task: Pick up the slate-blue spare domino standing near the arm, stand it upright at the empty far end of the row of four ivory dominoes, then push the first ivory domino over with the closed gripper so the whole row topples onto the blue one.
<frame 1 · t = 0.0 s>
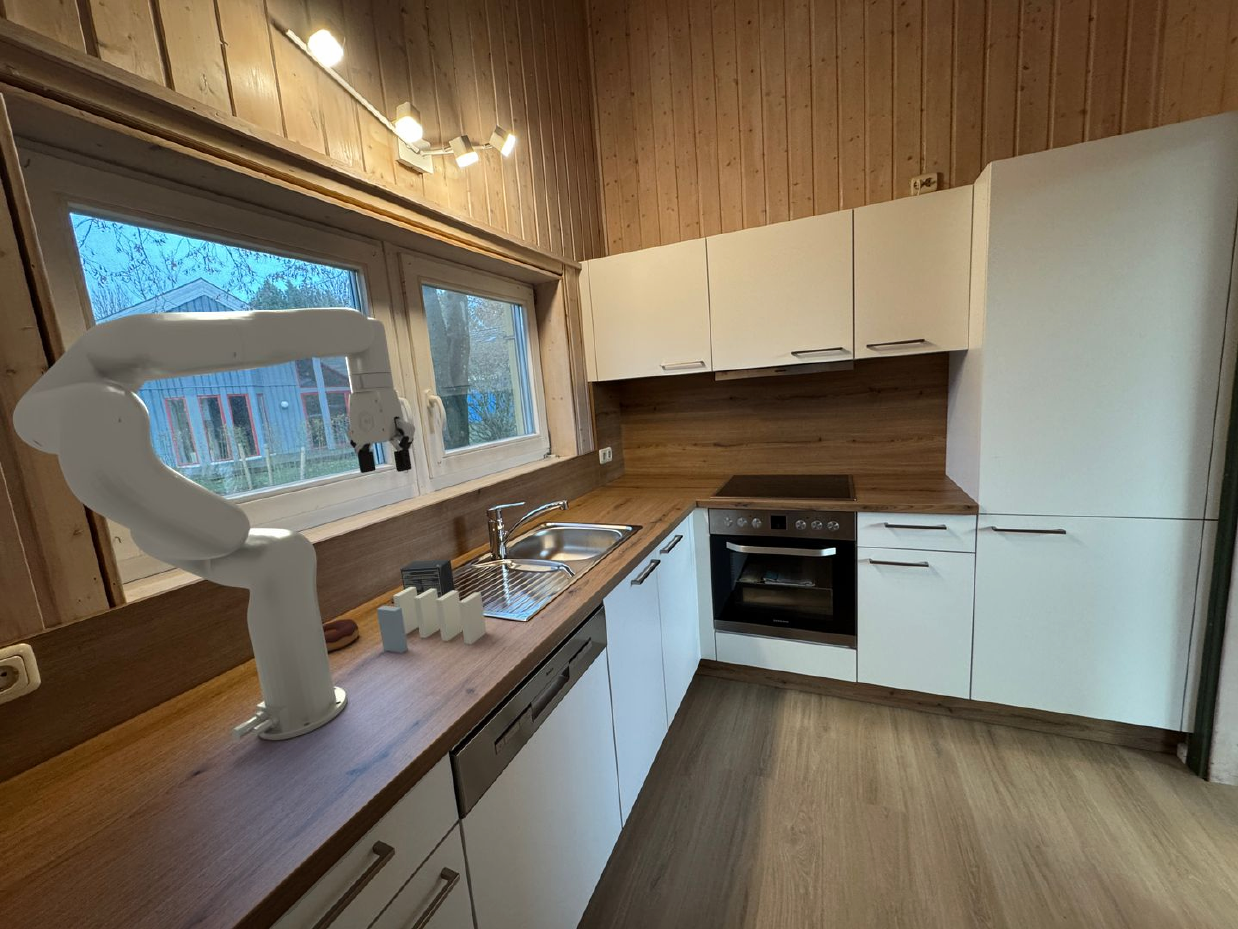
hand: (386, 471, 98), 37 cm above the countertop, tool pointing down, fingers open, 9 cm apart
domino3: (453, 635, 106), on the countertop
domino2: (431, 632, 108), on the countertop
donut: (334, 644, 107), on the countertop
spare domino: (395, 649, 102), on the countertop
small box: (432, 603, 125), on the countertop
domino4: (475, 638, 104), on the countertop
domino1: (410, 629, 111), on the countertop
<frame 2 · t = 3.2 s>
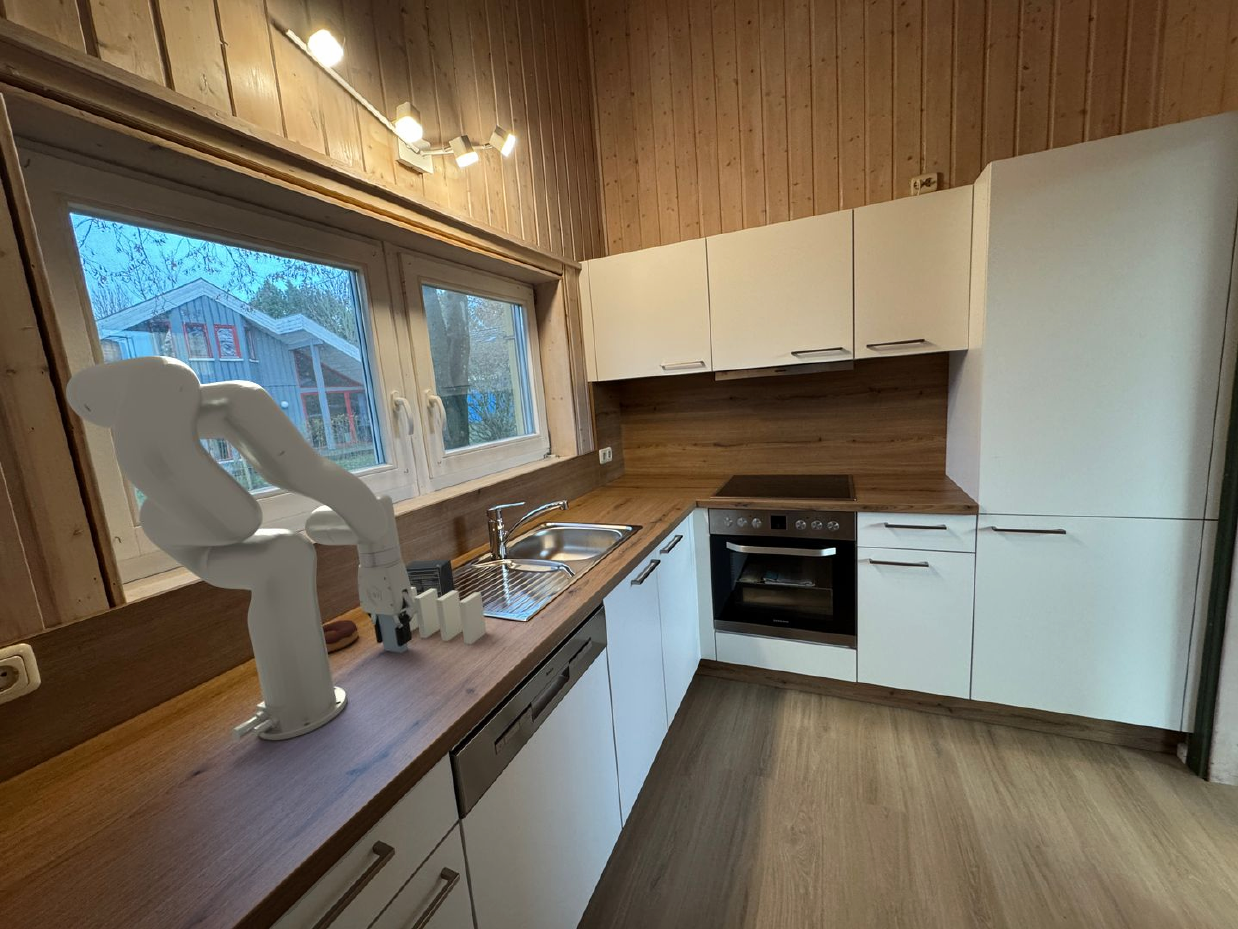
hand: (394, 640, 102), 2 cm above the countertop, tool pointing down, fingers closed on spare domino, 4 cm apart
spare domino: (395, 649, 102), on the countertop, touching gripper
when the fingers open (3 cm above the countertop, at t = 9.0 s): spare domino stays where it is, on the countertop.
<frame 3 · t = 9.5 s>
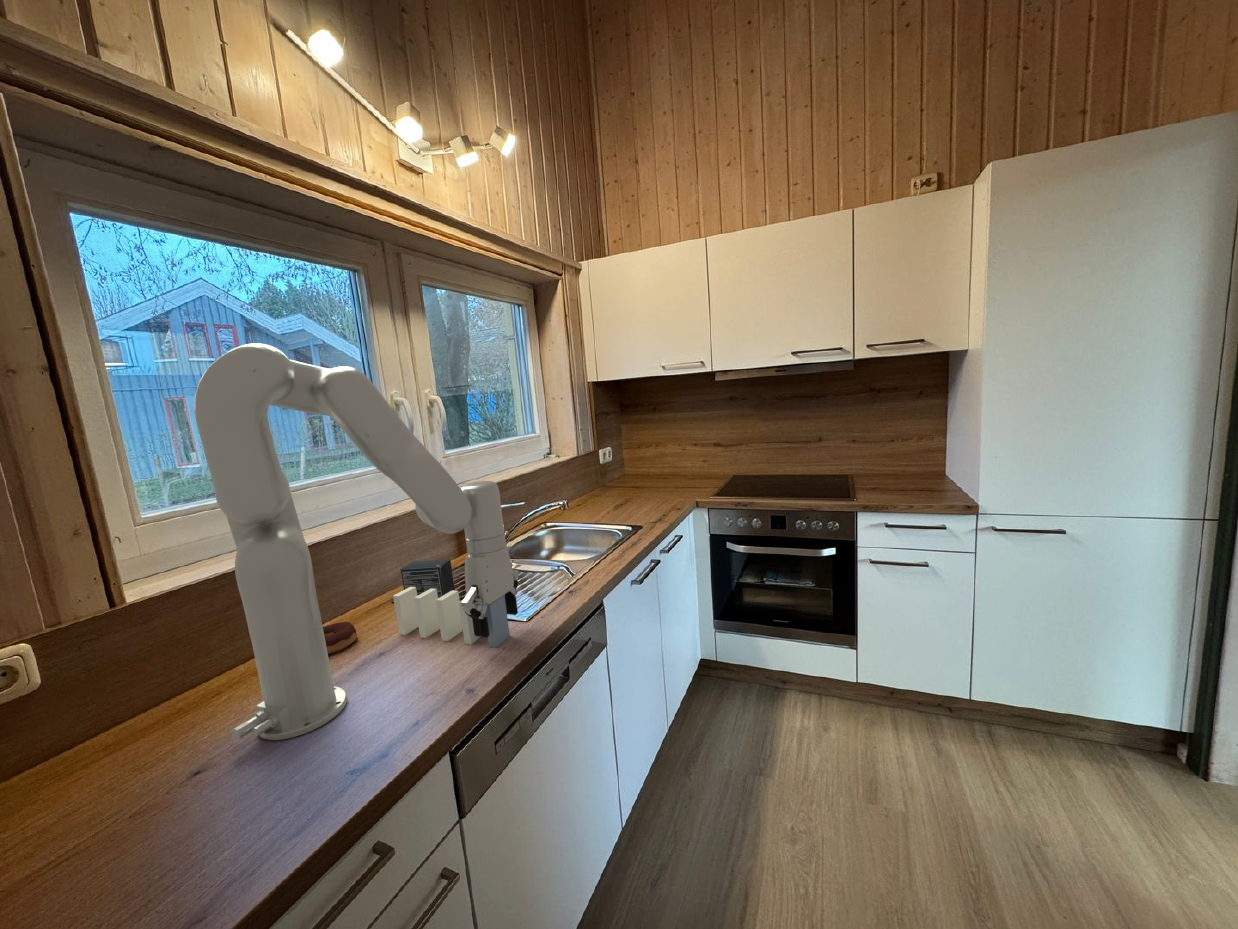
hand: (497, 624, 101), 4 cm above the countertop, tool pointing down, fingers open, 9 cm apart
spare domino: (499, 641, 101), on the countertop
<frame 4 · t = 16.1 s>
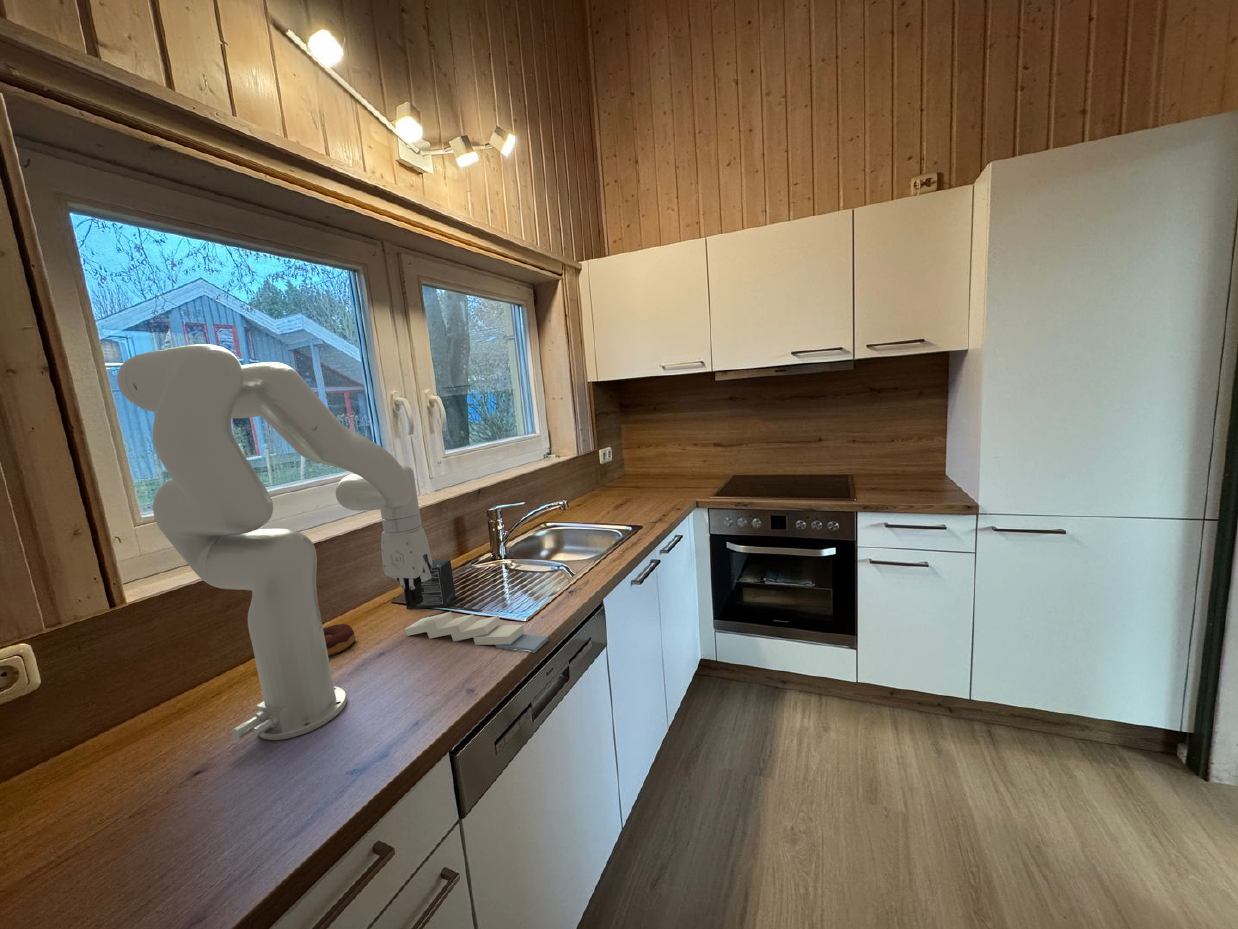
hand: (415, 604, 109), 6 cm above the countertop, tool pointing down, fingers closed
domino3: (460, 632, 105), point 1 cm above the countertop, tilted 74°, touching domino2
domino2: (436, 629, 108), point 1 cm above the countertop, tilted 75°, touching domino1, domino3
spare domino: (503, 641, 101), on the countertop, tilted 90°, touching domino4
domino4: (482, 635, 103), point 1 cm above the countertop, tilted 82°, touching spare domino
domino1: (414, 627, 110), point 1 cm above the countertop, tilted 75°, touching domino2
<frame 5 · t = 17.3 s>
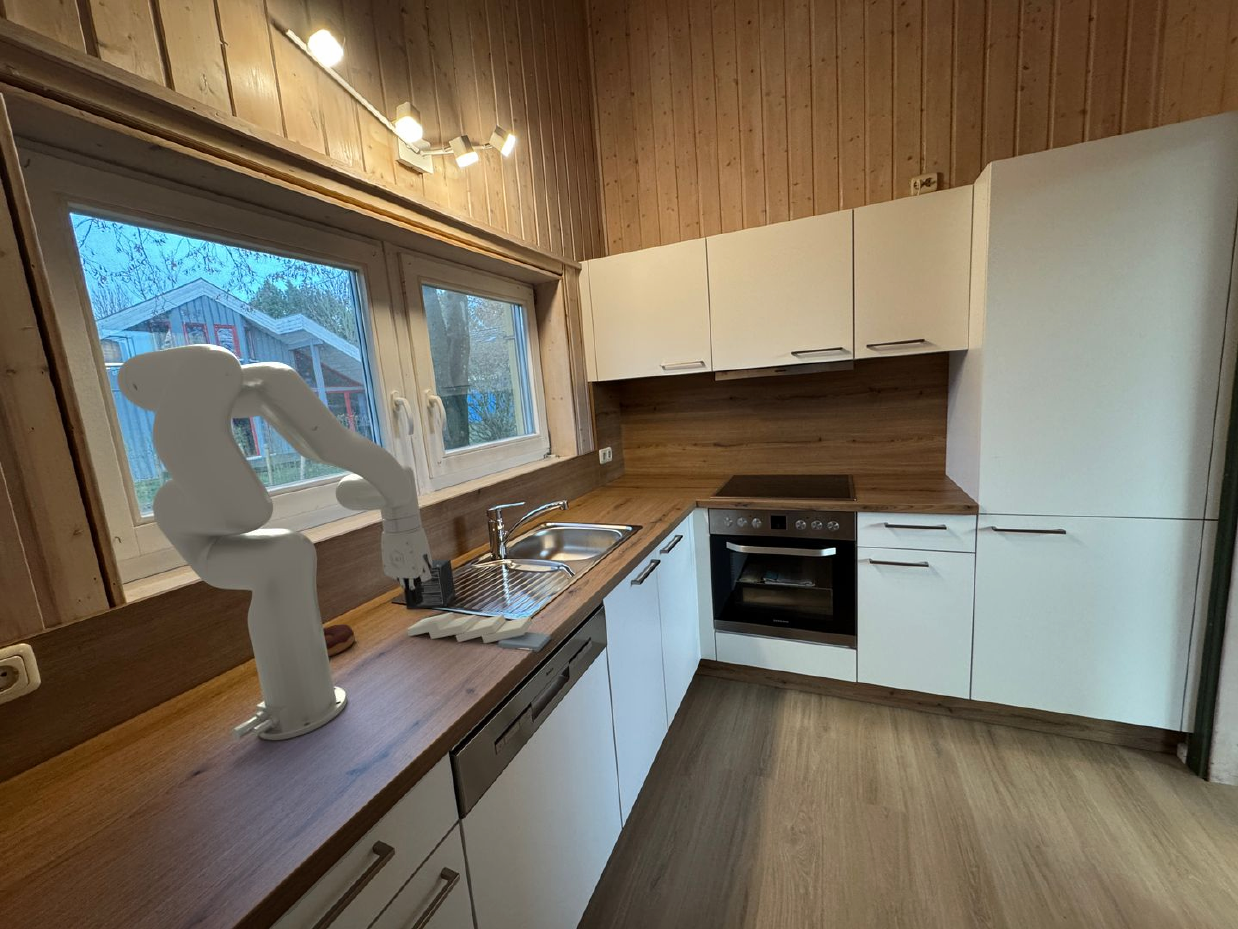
hand: (415, 604, 109), 6 cm above the countertop, tool pointing down, fingers closed
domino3: (463, 633, 105), point 1 cm above the countertop, tilted 74°, touching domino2, domino4
domino4: (488, 633, 103), point 1 cm above the countertop, tilted 77°, touching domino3, spare domino
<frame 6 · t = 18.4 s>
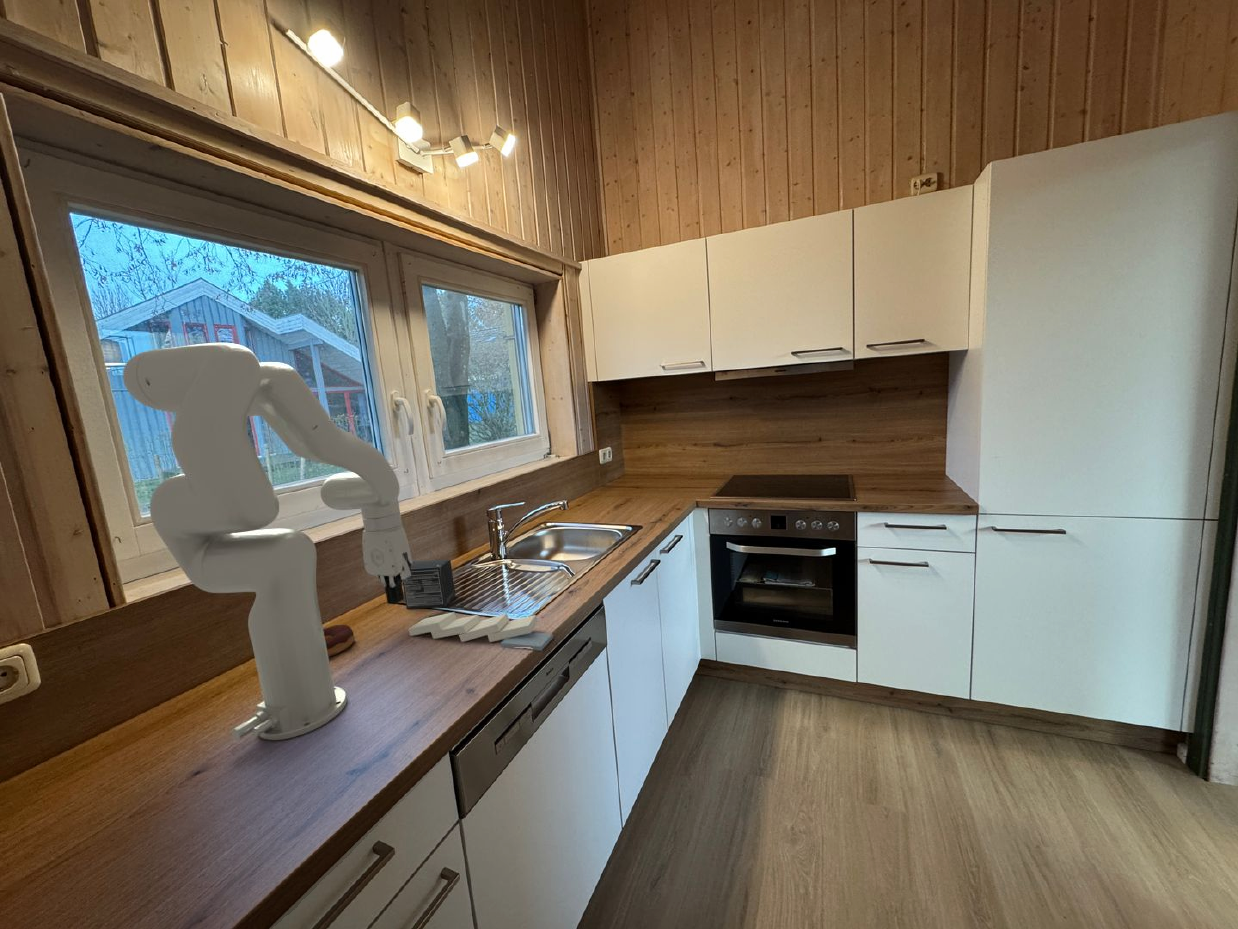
hand: (395, 601, 111), 6 cm above the countertop, tool pointing down, fingers closed
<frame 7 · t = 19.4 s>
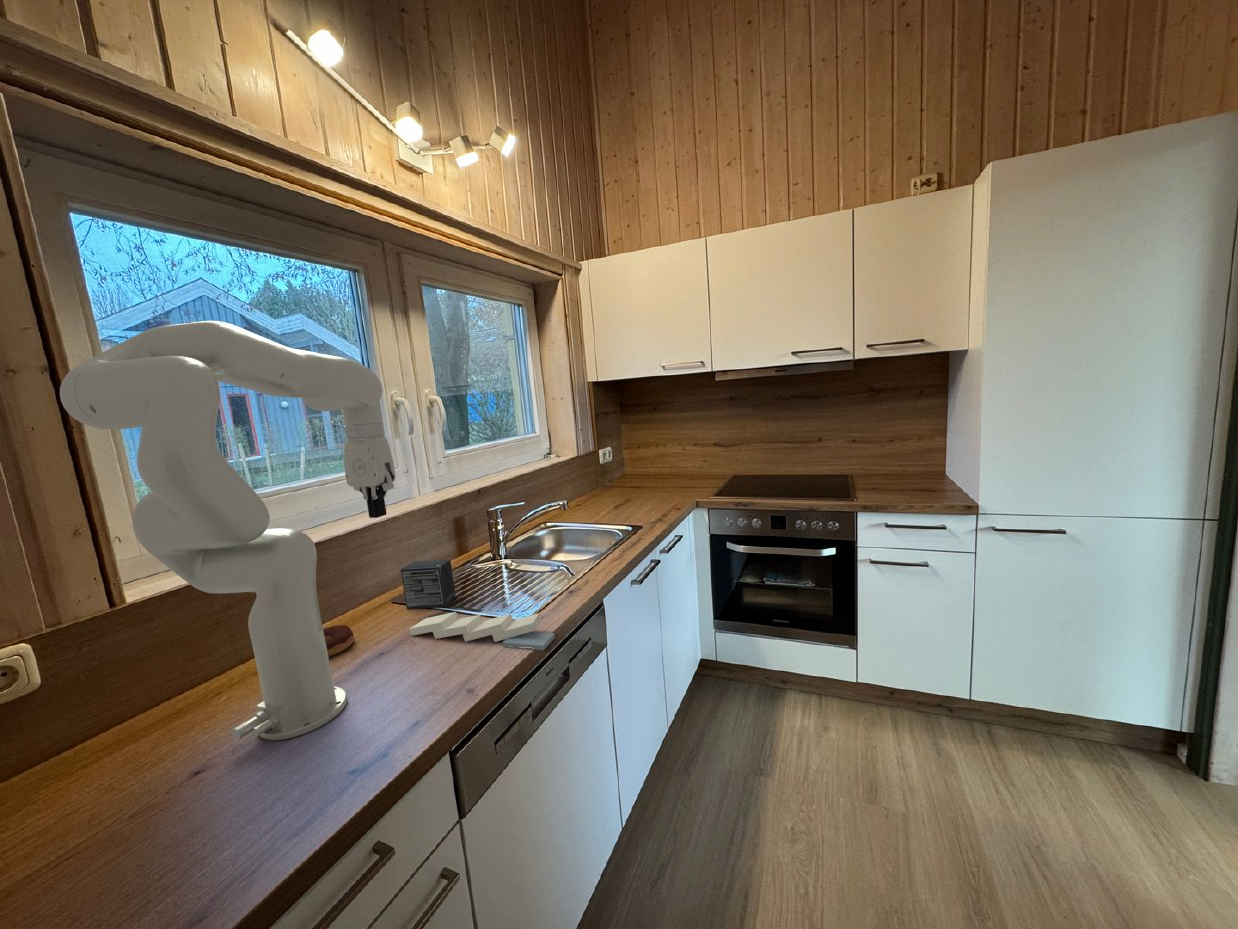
hand: (378, 516, 108), 26 cm above the countertop, tool pointing down, fingers closed
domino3: (469, 632, 104), point 1 cm above the countertop, tilted 75°, touching domino4
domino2: (442, 629, 107), point 1 cm above the countertop, tilted 76°, touching domino1
domino4: (497, 633, 103), point 1 cm above the countertop, tilted 76°, touching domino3, spare domino
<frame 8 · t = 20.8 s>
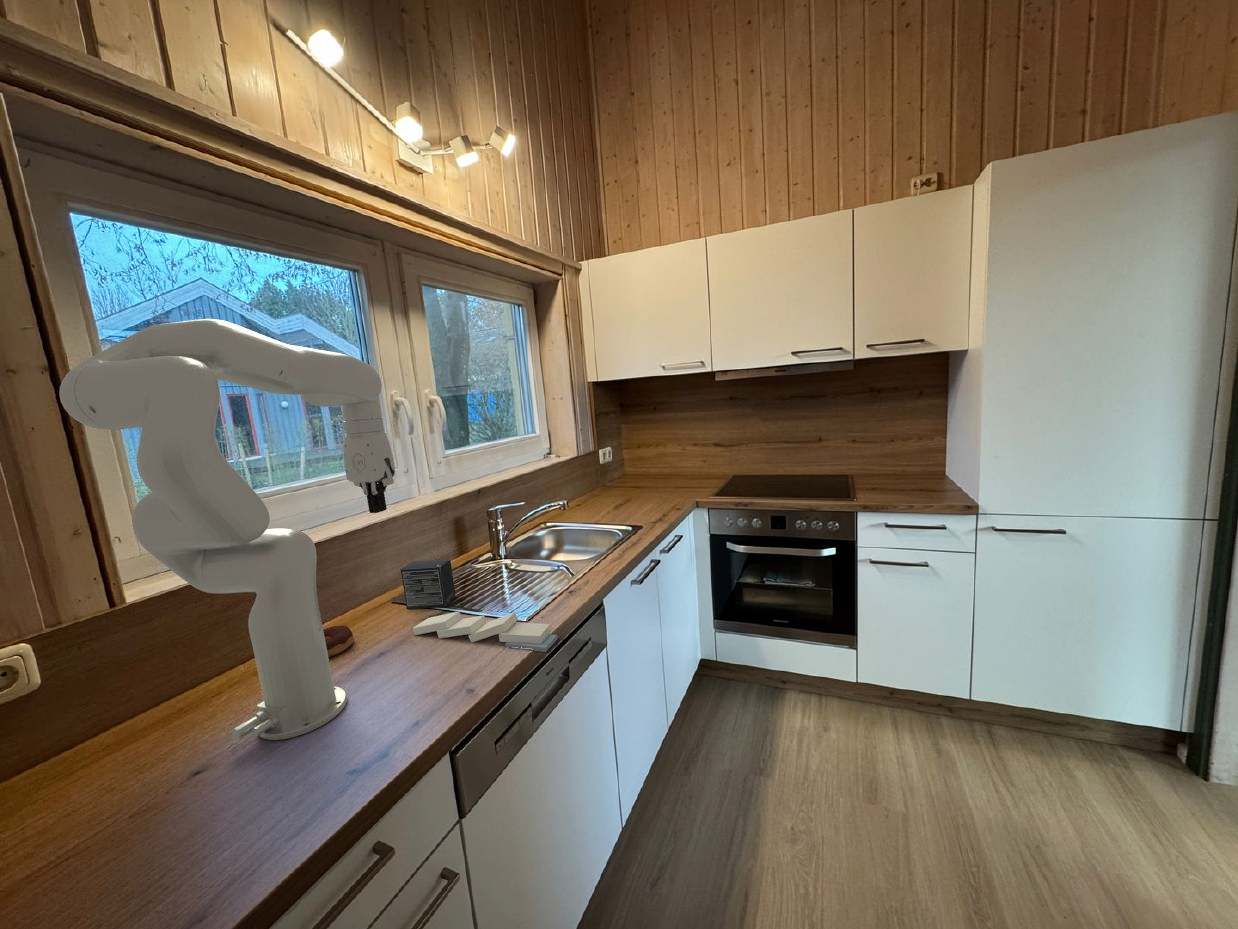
hand: (378, 511, 108), 27 cm above the countertop, tool pointing down, fingers closed
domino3: (476, 633, 104), point 1 cm above the countertop, tilted 70°, touching domino4
domino4: (505, 631, 101), point 2 cm above the countertop, tilted 90°, touching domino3, spare domino
at the end: spare domino tilted 90°; domino4 touching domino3, spare domino; spare domino inside the target area (1.3 cm from its centre), on the countertop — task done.
